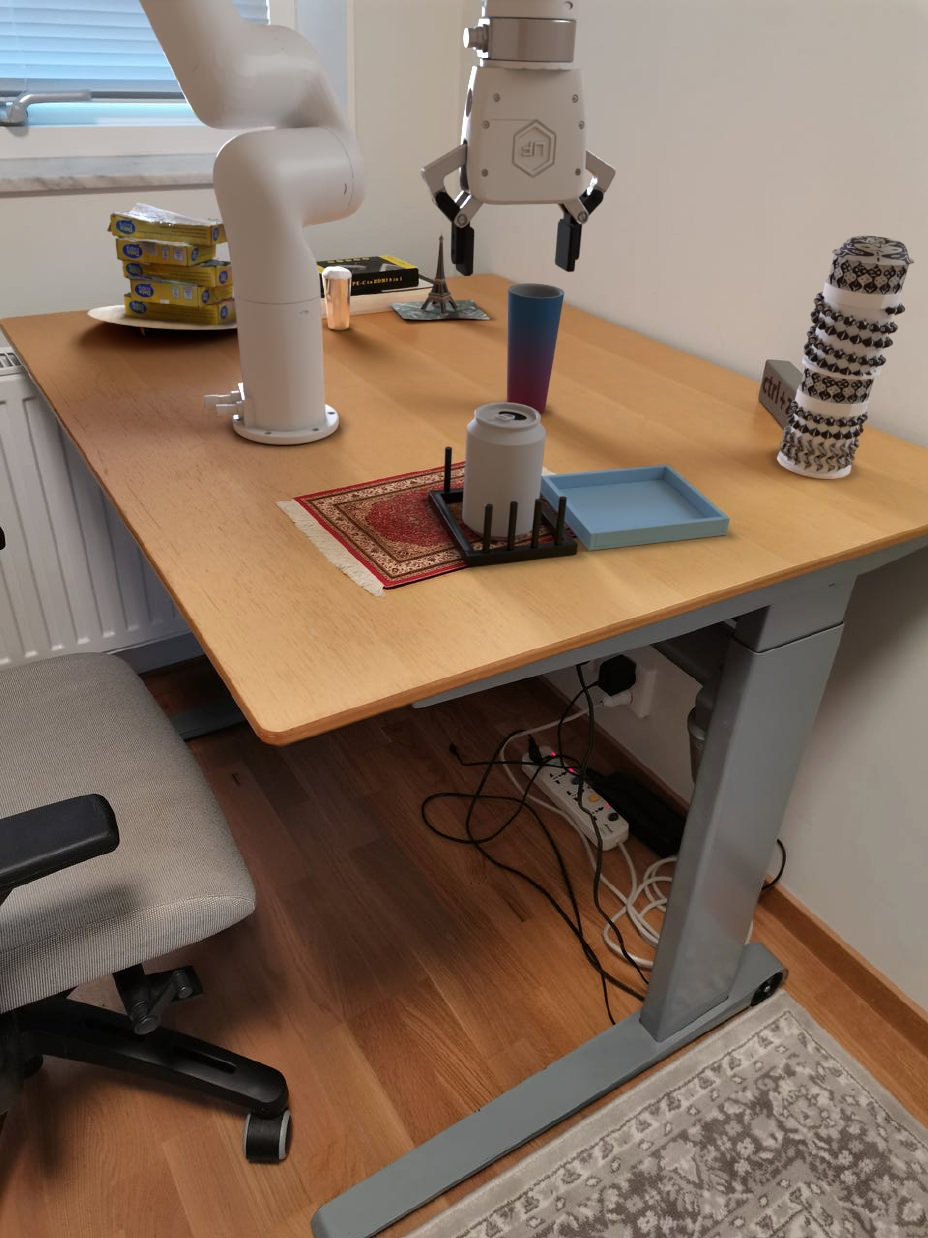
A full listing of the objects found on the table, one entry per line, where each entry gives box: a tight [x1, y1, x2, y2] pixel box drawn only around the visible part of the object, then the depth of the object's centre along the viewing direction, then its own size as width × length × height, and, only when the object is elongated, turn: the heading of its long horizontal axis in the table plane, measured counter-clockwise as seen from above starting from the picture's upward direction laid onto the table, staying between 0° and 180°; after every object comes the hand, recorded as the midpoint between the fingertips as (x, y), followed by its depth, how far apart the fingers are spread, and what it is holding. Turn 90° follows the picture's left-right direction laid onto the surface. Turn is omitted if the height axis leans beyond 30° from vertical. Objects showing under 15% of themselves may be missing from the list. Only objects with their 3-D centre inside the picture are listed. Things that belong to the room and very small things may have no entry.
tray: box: [540, 463, 731, 552], centre depth 94 cm, size 15×13×2 cm
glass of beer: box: [321, 261, 357, 331], centre depth 141 cm, size 5×5×10 cm
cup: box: [506, 282, 565, 415], centre depth 114 cm, size 7×7×15 cm
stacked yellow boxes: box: [87, 202, 237, 336], centre depth 135 cm, size 25×25×17 cm
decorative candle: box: [776, 235, 915, 480], centre depth 100 cm, size 9×9×25 cm
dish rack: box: [427, 446, 579, 568], centre depth 89 cm, size 11×14×6 cm
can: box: [461, 401, 547, 542], centre depth 87 cm, size 8×8×12 cm
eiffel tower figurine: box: [389, 228, 491, 320], centre depth 150 cm, size 15×10×13 cm
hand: (514, 270), depth 82 cm, fingers open, 9 cm apart
